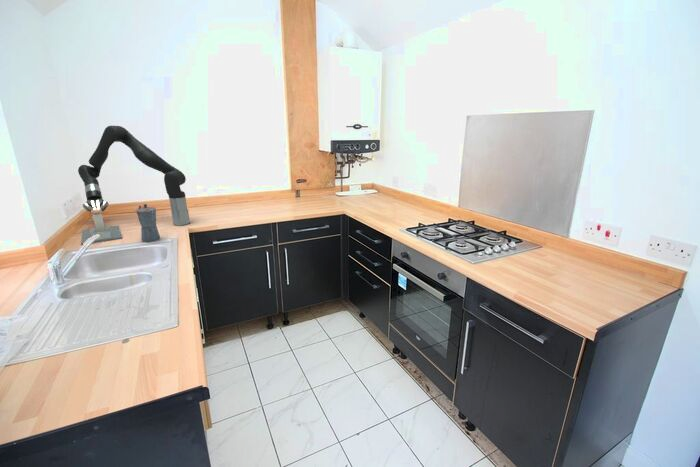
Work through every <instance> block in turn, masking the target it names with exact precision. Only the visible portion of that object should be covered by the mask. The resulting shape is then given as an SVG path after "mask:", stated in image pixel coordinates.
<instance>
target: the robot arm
mask: <svg viewBox="0 0 700 467" xmlns="http://www.w3.org/2000/svg"><path fill="white" fill-rule="evenodd" d="M119 142H120V143H121V144H124V145H125V146H127V147H128V148H129V149H130V150H131V152H132V153H133V155H134V157H135V158H136V159H137V160H138V161H140V162H141V163H142V164H143V165H145V166H147V167H148V168H151V169H153V170H156V171H158V172H161V173H162V174H164V177H163V181H164V186H165V190H166V194H167V195H168V200H169V206H170V211H171V212H170V213H171V218H172V224H173V226H180V227H181V226H186V225H189V223H190V224H191V220H190V213H189V209H188V203H187V199H186V193H185V192H184V191H182V189H181V185H183V184H186V183H185V182H186V180H187V178H186V176H185V174H184V173H183V172H182V171H181V170H179V169H177V167H174V166H173V165H171V164H170V163H168V162H167V161H166V160H164V159H163V158H162V157H160V156H159V155H158V154H157V153H156V152H155V151H153V150H152V149H151V148H149V147H148V146H146V145H145V144H143V142H141V141H140V140H138V139H137V138H136V137H135V136H134V135H133V134H132V133H131V132H130V131H129V130H128V129H126V128H125V127H123V126H121V125H108V126H106V128H105V129H104V130H103V133H102V135H101V138H100V140H99V142H98V144H97V147H96V148H95V149H94V150H95V151H94V152H93V153H92V155H91V156H90V158H89V159H88V164H90V165H91V166H90V165H88V164H87V165H86V164H81V165H80V166H79V167H78V169H77V172H78V175H79V177H80V178H81V180H82V182H83V184H84V192H85V197H86V202H85V203H83V204H82V208H83V209H85V210H86V211H88V212H89V213H91V210H94V209H101V210H102V212H105V210H106V209H107V208H108V206H109V202H108V201H104V199H103V195H102V190H101V187H100V184H99V181H98V178H99V177H100V175H101V170H102V167H103V165H104V164H105V163H106V161H107V159H108V157H109V150H110V148H111V146H112V145H113V144H114V143H119Z"/></svg>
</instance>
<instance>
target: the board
mask: <svg viewBox="0 0 700 467" xmlns="http://www.w3.org/2000/svg"><path fill="white" fill-rule="evenodd" d="M95 231H96V228H95ZM105 231H106V229H105ZM110 231H111V236H112V238H109V239H103V240H97V241H94V242H93V243H92V244H97V243H98V244H99V243H103V242H104V243H105V242H110V241H116V240H122V239H123V236H122V231H121V228H120V225H118V224H117V225H112V226H111V225H110ZM96 232H97V231H96ZM90 237H91V235H90V229H84V230H83V229H82V230H81V240H80V241H81V246H84V245H83V243H84V242H85V241H86V240H87V239H88V238H90Z"/></svg>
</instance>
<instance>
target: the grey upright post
mask: <svg viewBox="0 0 700 467" xmlns="http://www.w3.org/2000/svg"><path fill="white" fill-rule="evenodd" d="M90 214H91V216H92V219H93V222H94V228H95V229H96V231H97V232H102V231H105V227H106V226H105V222H104V218H103V215H102V214H103V211H102V210H101V209H97V208H96V209H94V210H91V212H90Z"/></svg>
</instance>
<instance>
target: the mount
mask: <svg viewBox="0 0 700 467" xmlns="http://www.w3.org/2000/svg"><path fill="white" fill-rule="evenodd" d="M104 227H105V229H106V231H102V232H96V231H95V229H96V227H93V228H90V229H89V230H90V235H91V237H92V236H93V235H96V234H99V235H100V237H99V238H98V239H97V240H103V239H109V238H112V236H111V231H110V227H111V225H108V226H107V225H106V226H104ZM97 240H95V241H97Z"/></svg>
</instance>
